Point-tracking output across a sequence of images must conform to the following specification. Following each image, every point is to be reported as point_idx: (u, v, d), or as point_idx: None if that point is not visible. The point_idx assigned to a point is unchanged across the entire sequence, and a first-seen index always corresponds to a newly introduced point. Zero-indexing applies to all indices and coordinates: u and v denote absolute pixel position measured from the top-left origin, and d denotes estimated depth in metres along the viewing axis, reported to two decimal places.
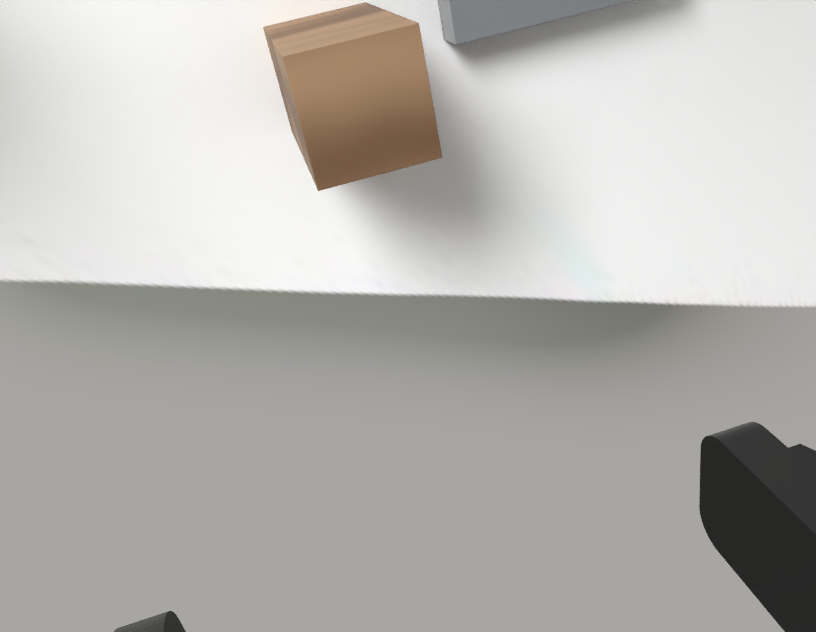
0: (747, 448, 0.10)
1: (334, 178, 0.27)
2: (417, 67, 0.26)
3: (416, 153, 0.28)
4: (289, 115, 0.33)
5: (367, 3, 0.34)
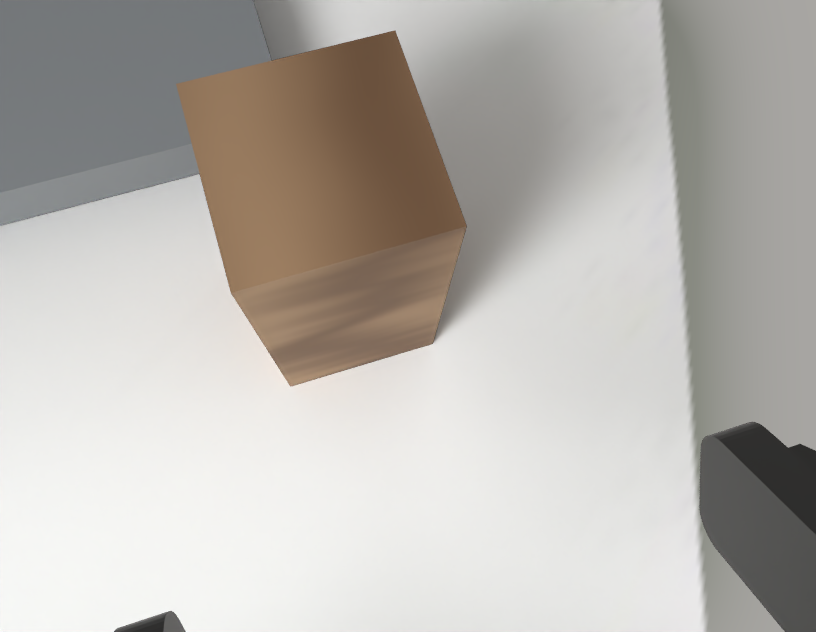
0: (747, 448, 0.10)
1: (442, 199, 0.15)
2: (245, 80, 0.16)
3: (390, 70, 0.16)
4: (398, 337, 0.22)
5: None
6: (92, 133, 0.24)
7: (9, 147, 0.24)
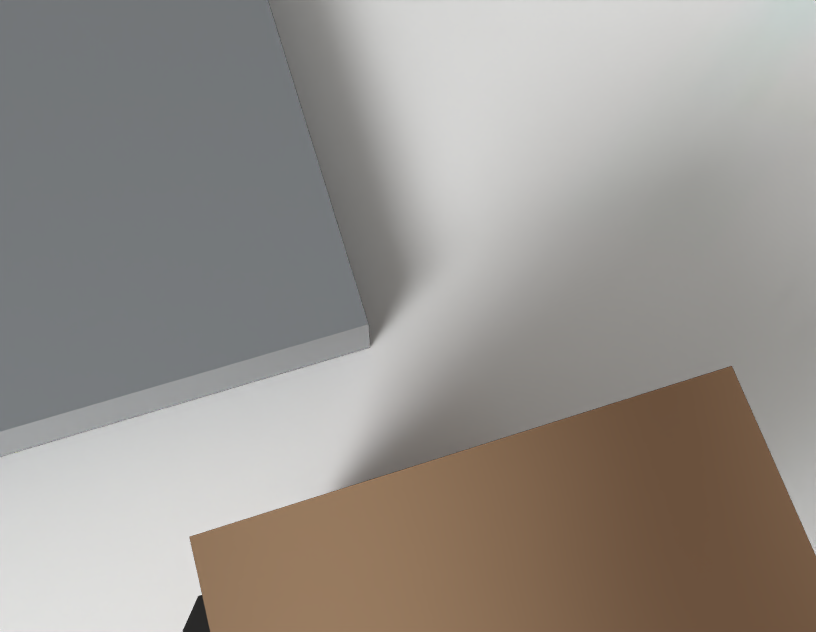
0: None
1: None
2: (370, 521, 0.06)
3: (734, 483, 0.06)
4: None
5: None
6: (41, 354, 0.14)
7: None
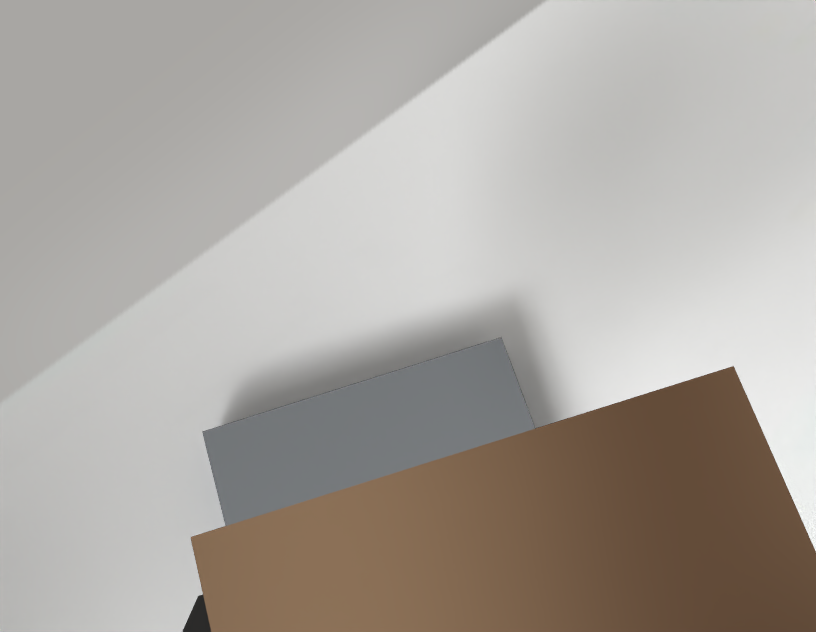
0: None
1: None
2: (372, 521, 0.06)
3: (736, 484, 0.06)
4: None
5: None
6: None
7: None
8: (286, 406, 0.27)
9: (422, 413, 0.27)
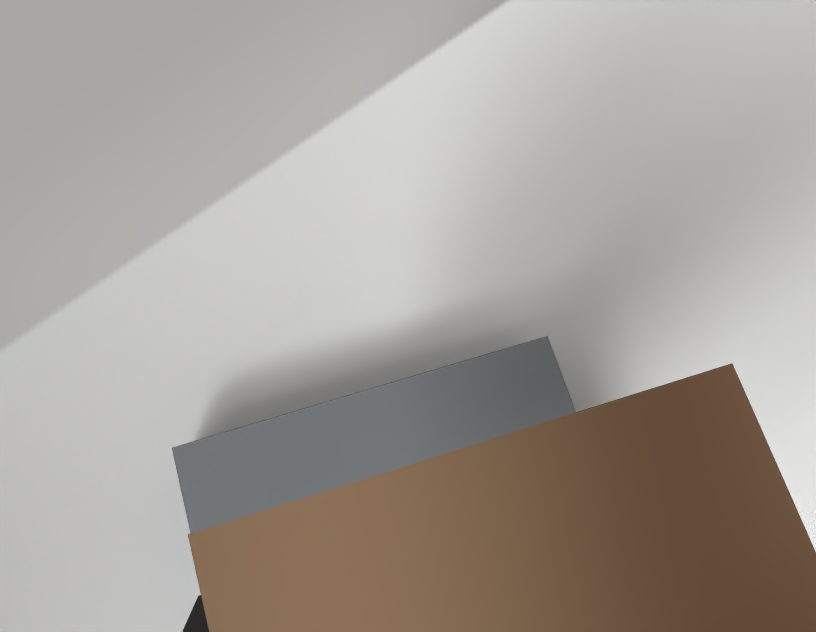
0: None
1: None
2: (369, 519, 0.06)
3: (734, 481, 0.06)
4: None
5: None
6: None
7: None
8: (279, 417, 0.22)
9: (449, 429, 0.22)
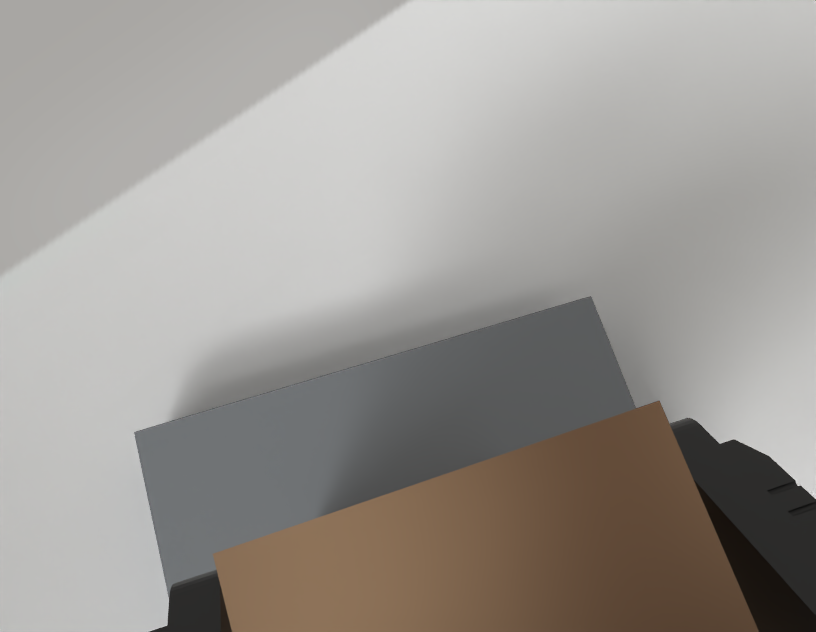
0: (680, 443, 0.10)
1: None
2: (360, 537, 0.07)
3: (660, 499, 0.08)
4: None
5: None
6: None
7: None
8: (265, 395, 0.18)
9: (473, 408, 0.18)
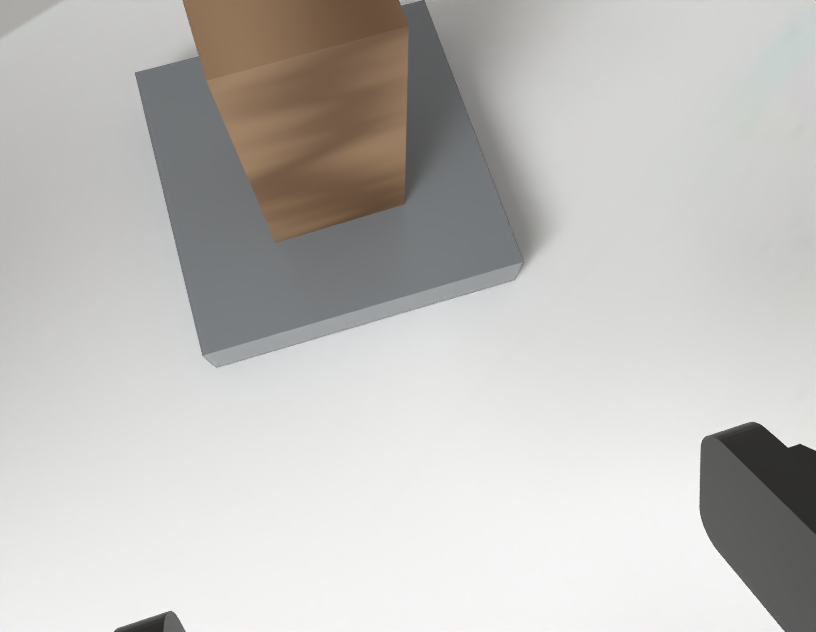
0: (747, 448, 0.10)
1: (387, 5, 0.17)
2: None
3: None
4: (369, 185, 0.25)
5: None
6: (344, 278, 0.26)
7: (270, 292, 0.26)
8: None
9: None
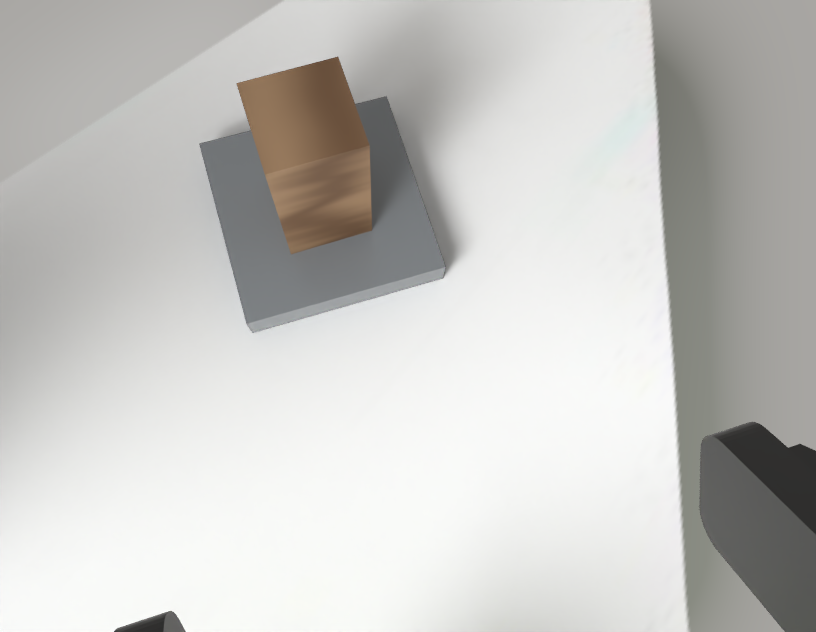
0: (747, 448, 0.10)
1: (358, 133, 0.33)
2: (268, 81, 0.34)
3: (335, 75, 0.34)
4: (349, 220, 0.40)
5: None
6: (334, 276, 0.42)
7: (288, 285, 0.42)
8: None
9: None
